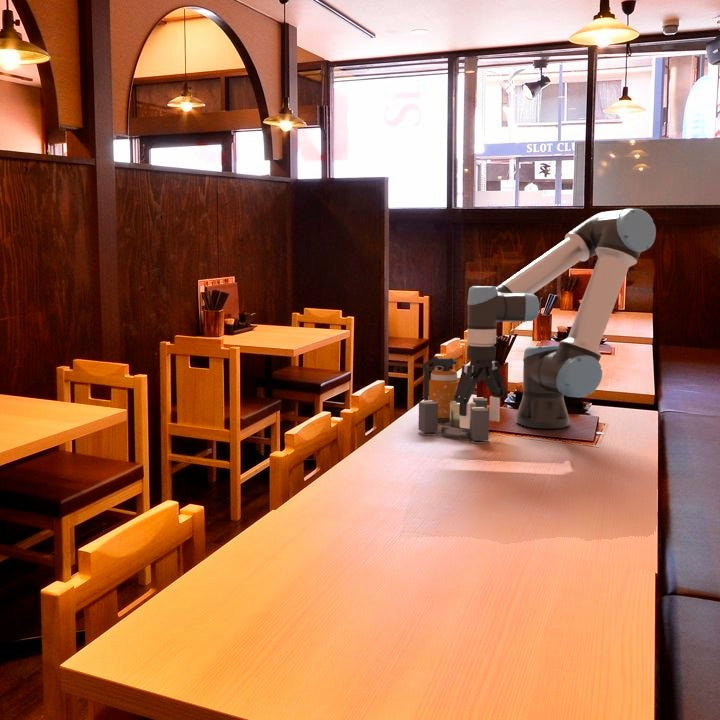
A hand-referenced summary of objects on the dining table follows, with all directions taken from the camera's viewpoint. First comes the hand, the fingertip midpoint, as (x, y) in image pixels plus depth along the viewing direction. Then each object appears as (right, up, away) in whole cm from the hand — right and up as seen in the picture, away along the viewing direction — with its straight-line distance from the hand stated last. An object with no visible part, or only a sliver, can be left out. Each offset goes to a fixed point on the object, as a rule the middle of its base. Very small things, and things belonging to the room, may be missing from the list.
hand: (479, 424), depth 206 cm
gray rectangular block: (0, -5, +1) cm, 5 cm away
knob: (+3, -3, +17) cm, 17 cm away
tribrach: (-6, -4, +10) cm, 12 cm away
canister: (-8, -2, +26) cm, 27 cm away
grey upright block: (-13, -4, +11) cm, 17 cm away
